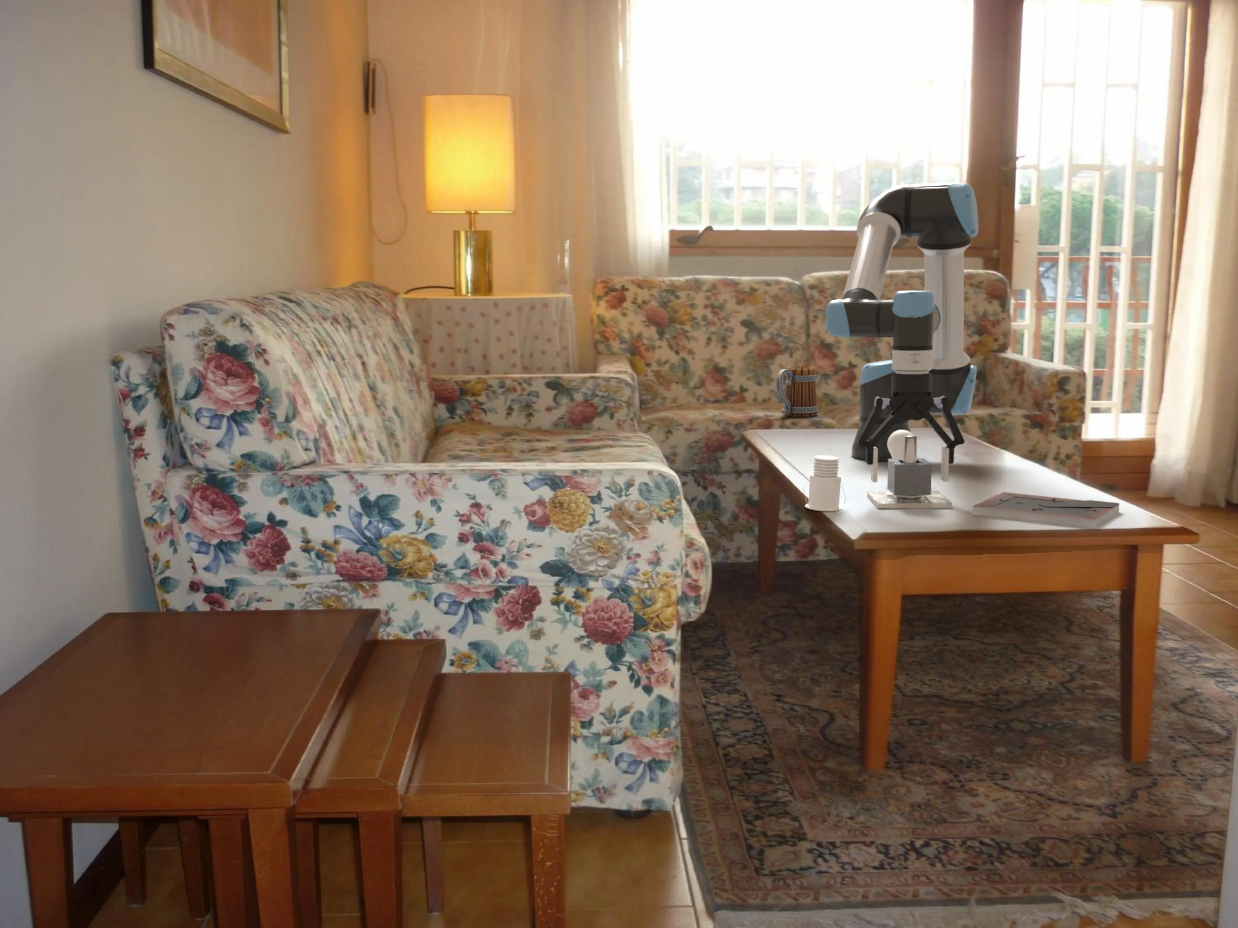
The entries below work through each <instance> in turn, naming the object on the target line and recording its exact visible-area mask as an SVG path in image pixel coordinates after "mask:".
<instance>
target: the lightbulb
mask: <svg viewBox="0 0 1238 928" xmlns="http://www.w3.org/2000/svg"><path fill="white" fill-rule="evenodd" d="M906 435H913V436H915V435H914V434H913V433H912V431H911V432H909V431H906V430H898V431H895V432H894V433H892V434H891V435H890V437H889V439H888V442H887V446H888V450H889V452H890V454H891V456H892V458H893V459H903V436H906Z"/></svg>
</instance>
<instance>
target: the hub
mask: <svg viewBox="0 0 1238 928" xmlns="http://www.w3.org/2000/svg"><path fill="white" fill-rule="evenodd" d="M932 465H933V464H932V463H931V462H930V461H928V460H927V459H925V458H917V463H903V459H888V461H887V486H886V487H887V490H888V491H890V492H891V493H892V494H893V495H931V491H932V469H933V468H932V467H933V466H932Z"/></svg>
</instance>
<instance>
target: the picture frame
mask: <svg viewBox="0 0 1238 928" xmlns="http://www.w3.org/2000/svg"><path fill="white" fill-rule="evenodd" d="M971 509H972V510H971V511H972V515H973V516H980V517H981V516H983V517H990V518H997V519H1006V520H1015V521H1023V522H1033V523H1042V524H1048V525H1057V526H1058V525H1059V526H1065V527H1066V526H1067V527H1068V526H1069V527H1077V528H1084V529H1085V528H1086V529H1096V528H1097V527H1099V526H1100V525H1102V524H1103V523H1105V522H1106V521H1107V520H1109V519H1110V518H1112V517H1114V516H1116V514H1118V513H1119V512H1120V503H1119V502H1111V501H1110V502H1109V501H1103V500H1093V499H1087V500H1082V499H1073V498H1063V497H1055V496H1045V495H1038V494H1037V495H1035V494H1027V493H1018V492H1017V493H1016V492H1015V493H1014V492H1009V491H1008V492H1007V491H1001V492H1000V493H997V494H995V495H993V496H991V497H989V498H987V499H985V500H982V501H981V502H979V503H977V504H975V505H973V506H972V508H971Z"/></svg>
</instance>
